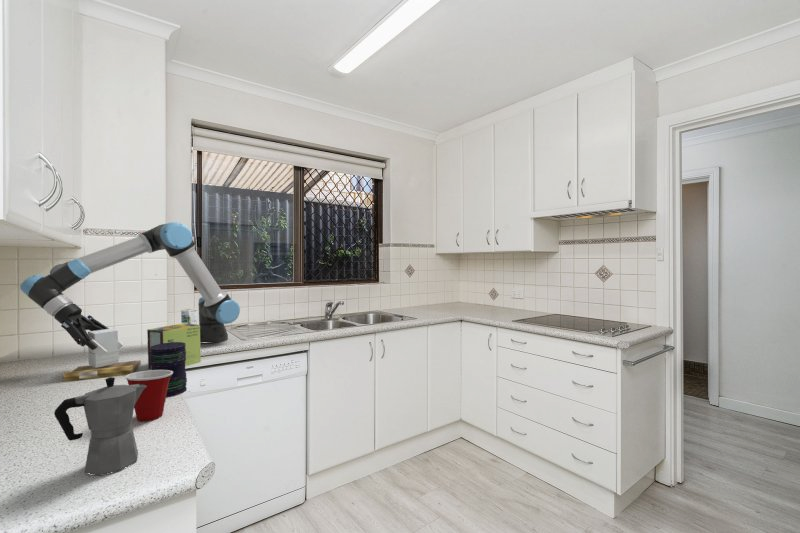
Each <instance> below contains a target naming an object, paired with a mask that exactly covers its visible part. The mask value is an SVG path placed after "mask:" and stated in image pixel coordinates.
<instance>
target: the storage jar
mask: <svg viewBox="0 0 800 533" xmlns="http://www.w3.org/2000/svg"><path fill="white" fill-rule="evenodd" d="M185 346H186V344H185V343H183V342H171V343H163V344H157V345H154V346H151V347H150V351H151V352H150V364H151V367H152V369H151V370H170V371H173V374H172V375H171V377H170V380H169V383H168V389H167V395H166V398H172V397H176V396H178V395H179V396H180V395H182V394H184V393H186V392H187V390H188V389H187V382H188V381H187V380H188V378H187V372H186V366H185V361H186V348H185Z"/></svg>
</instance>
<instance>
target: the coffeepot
mask: <svg viewBox="0 0 800 533" xmlns="http://www.w3.org/2000/svg"><path fill="white" fill-rule="evenodd" d="M115 379H116V377H115V376H111V377H106V378H105V379H104V381H105V383H106V386H104V387H100V388H98V389H95V390H92V391H89V392H86V393H84V394H83V395H79V396H75V397H70V398H66V399H64V400H63V401H61V403H60V404H59V405H58V406H57V407H56V409H55V410H54V411H53V412H54V417H55V418H56V421H57V422H58V424H59V426H60V428H61V429H62V431H63V433H64V435H65V437H66V438H67V440H68V441H76V440H79V439H81V438H82V437H83V434H84V433H83V432H80V433H75V429H74V425H73V424H72V423H71V420H70V417H69V414H68V413H67V411H68V410H69V409H73V408H81V407H83V409H84V414H85V418H86V423H87V427H88V430H90V438H89V444H88V448H87V455H86V462H85V466H84V472H85V473H84V474H86V473H90V474H95V475H97V476H102V475H101V474H106V475H108V474H107V473H111V472H114V473H116V472H115V471H117V472H119V471H118V470H120V471H122V470H121V469H123V470H125V469H126V468H125V467H127V468H129V467H130V466H132V465H133V464H135V463H136V462H137V461H138V457H139V451H138V446H137V442H136V438H135V434H134V430H133V427H132V421H133V417H134V412H135V409H134V405H135V403H136V402H137V400H138V398H139V396H140V395H141V393H142V391H143V390H144V389H145V388H146V387H147V386H146V385H144V384H135V385H129V384H115V381H116V380H115ZM114 384H115V385H114ZM135 461H136V462H135ZM134 462H135V463H134ZM131 464H132V465H131ZM129 465H130V466H129ZM128 466H129V467H128ZM124 468H125V469H124ZM111 474H112V473H111ZM95 475H94V476H95Z"/></svg>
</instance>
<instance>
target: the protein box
mask: <svg viewBox="0 0 800 533" xmlns="http://www.w3.org/2000/svg"><path fill="white" fill-rule="evenodd" d="M146 331H147V332H146V333H147V363H148V364H147V366H148V367H147V369H148V370H152V367H151V364H150V352H151V351H150V347H151V346H154V345H157V344H163V343H171V342H183V343H185V344H186V346H185V348H186V361H185V367H187V366H191V365H196V364H200V363H201V362H202V360H201V359H202V358H201V353H202V352H201V343H200V325H199V324H197V325H196V324H187V323H182V324H181V323H177V324H172V325H165V326H159V327H154V328H148V329H147V330H146Z"/></svg>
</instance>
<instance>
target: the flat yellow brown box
mask: <svg viewBox="0 0 800 533" xmlns="http://www.w3.org/2000/svg"><path fill="white" fill-rule="evenodd" d="M141 364H142V363H141V359H140V360H131V361H130V360H129V361H121V362H120V361H119V363H117V364H112V365H107V366H102V367H97V368H95V367H93V366H90V365H89V364H88V365H82V366H77V367H76V368H74V369H73V370H72V371H66V372H63V382H64V381H67V382H75V381H74V380H76V381H83V380H84V381H85V380H90V379H92V380H93V379H101V378H109V377H118V376H126V375H128V374H131V373H135V372H136V370H138V368H139V367H140V366H141Z"/></svg>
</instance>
